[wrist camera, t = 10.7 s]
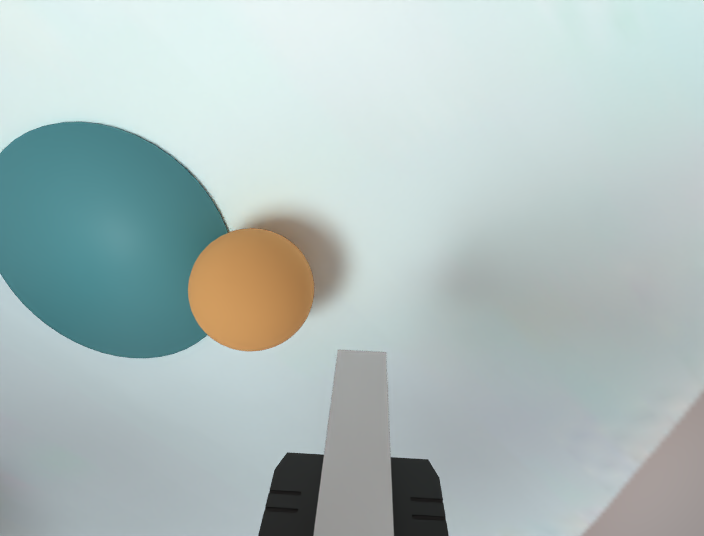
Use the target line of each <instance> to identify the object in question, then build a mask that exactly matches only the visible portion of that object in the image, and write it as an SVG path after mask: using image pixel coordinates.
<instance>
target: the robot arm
mask: <svg viewBox="0 0 704 536" xmlns="http://www.w3.org/2000/svg"><path fill="white" fill-rule="evenodd" d="M258 536H448V530H447V523H446V520H445V511H444V504H443V498H442V492H441V486H440V479H439V477H438V475H437V473H436V472H435V470H434V468H433V467H432V465H431V464H430V462H429V460H427V459H410V458H393V457H391V456H390V432H389V408H388V384H387V360H386V352H373V351H354V350H338V352H337V359H336V367H335V375H334V382H333V390H332V398H331V405H330V413H329V421H328V428H327V436H326V443H325V451H324V455H320V454H303V453H287V454H286V455H285V456H284V458H283V459H282V460H281V462H280V463H279V465H278V466H277V467H276V469H275V471H274V475H273V479H272V483H271V487H270V493H269V495H268V499H267V503H266V508H265V511H264V515H263V519H262V523H261V527H260V531H259V535H258Z"/></svg>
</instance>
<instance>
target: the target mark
mask: <svg viewBox="0 0 704 536" xmlns="http://www.w3.org/2000/svg"><path fill="white" fill-rule="evenodd" d="M227 233H228V232H227V229H226V226H225V224H224V222H223V220H222V217H221V215H220V213H219V211H218V210H217V208H216V206H215V205H214V203H213V201H212V200H211V198H210V196H209V195H208V194H207V192H206V191H205V190H204V189H203V187H202V186H201V185H200V183H199V182H198V181H197V180H196V179H195V178H194V177H193V176H192V175H191V174H190V173H189V172H188V171H187V169H186V168H184V167H183V166H182V165H181V164H180V163H179V162H177V161H176V160H175V159H174V158H173V157H171V156H170V155H169V154H167V153H166V152H164V151H163V150H161V149H160V148H158V147H157V146H155V145H154V144H152V143H150V142H148V141H146V140H144V139H142V138H140V137H138V136H137V135H134V134H131V133H129V132H126V131H123V130H121V129H118V128H114V127H110V126H106V125H102V124H96V123H87V122H63V123H57V124H52V125H47V126H42V127H40V128H37V129H34V130H32V131H29V132H27V133H25V134H24V135H22V136H20V137H18V138H17V139H15V140H14V141H13V142H12V143H10V144H9V145H8V146H7V147H6V148H5V149H4V150H3V151H2V152H1V153H0V273H1V275H2V277H3V278H4V280H5V281H6V283H7V284H8V286H9V287H10V288H11V290H12V291H13V292H14V294H15V295H16V296H17V297H18V298H19V299H20V301H21V302H22V303H23V304H24V305H25V306H26V307H27V308H28V309H29V310H30V311H31V312H32V313H33V314H34V315H36V316H37V317H38V318H39V319H40V320H42V321H43V322H44V323H45V324H47V325H48V326H49V327H51V328H52V329H54V330H55V331H57V332H58V333H60V334H61V335H63V336H65V337H67V338H69V339H71V340H72V341H74V342H76V343H79V344H81V345H83V346H85V347H88V348H90V349H93V350H96V351H99V352H102V353H106V354H110V355H115V356H120V357H128V358H153V357H162V356H166V355H170V354H174V353H177V352H179V351H182V350H185V349H187V348H189V347H190V346H192V345H194V344H196V343H197V342H199V341H200V340H201V339H203V338H204V337H205V336H206V335H207V334H206V333H205V332H204V331H203V329H202V328H201V327H200V326H199V324H198V323H197V321H196V319H195V317H194V315H193V313H192V311H191V307H190V303H189V298H188V283H189V278H190V274H191V271H192V268H193V266H194V263H195V261H196V260H197V258H198V256H199V255H200V254H201V252H202V251H203V250H204V249H205V248H206V247H207V246H208V245H209V244H210V243H211V242H213V241H214V240H216V239H217V238H219V237H220V236H222V235H224V234H227Z"/></svg>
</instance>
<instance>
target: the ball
mask: <svg viewBox="0 0 704 536" xmlns="http://www.w3.org/2000/svg"><path fill="white" fill-rule="evenodd" d="M313 297H314V281H313V275H312V272H311V269H310V266H309V264H308V262H307V260H306V258H305V257H304V255H303V254H302V252H301V251H300V250H299V249H298V248H297V247H296V246H295V245H294V244H293V243H292V242H291V241H289V240H288V239H286V238H285V237H283V236H281V235H279V234H277V233H274V232H272V231H268V230H264V229H256V228H249V229H240V230H235V231H232V232H229V233H227V234H224V235H222V236H220V237H219V238H217V239H216V240H214V241H213V242H211V243H210V244H209V245H208V246H207V247H206V248H205V249H204V250H203V251H202V252H201V254H200V255H199V256H198V258H197V260H196V261H195V263H194V266H193V268H192V271H191V274H190V278H189V283H188V298H189V303H190V307H191V311H192V313H193V315H194V317H195V319H196V321H197V323H198V324H199V326H200V327H201V328H202V329H203V331H204V332H205V333H206V334H207V335H209V336H210V337H211V338H212V339H214V340H215V341H217V342H218V343H220V344H222V345H224V346H227V347H229V348H232V349H236V350H241V351H260V350H265V349H269V348H272V347H275V346H277V345H279V344H281V343H283V342H284V341H286V340H288V339H289V338H290V337H291V336H293V335H294V334H295V333H296V332H297V331H298V330H299V329H300V327H301V326H302V325H303V323H304V322H305V320H306V319H307V317H308V314H309V312H310V309H311V306H312V303H313Z"/></svg>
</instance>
